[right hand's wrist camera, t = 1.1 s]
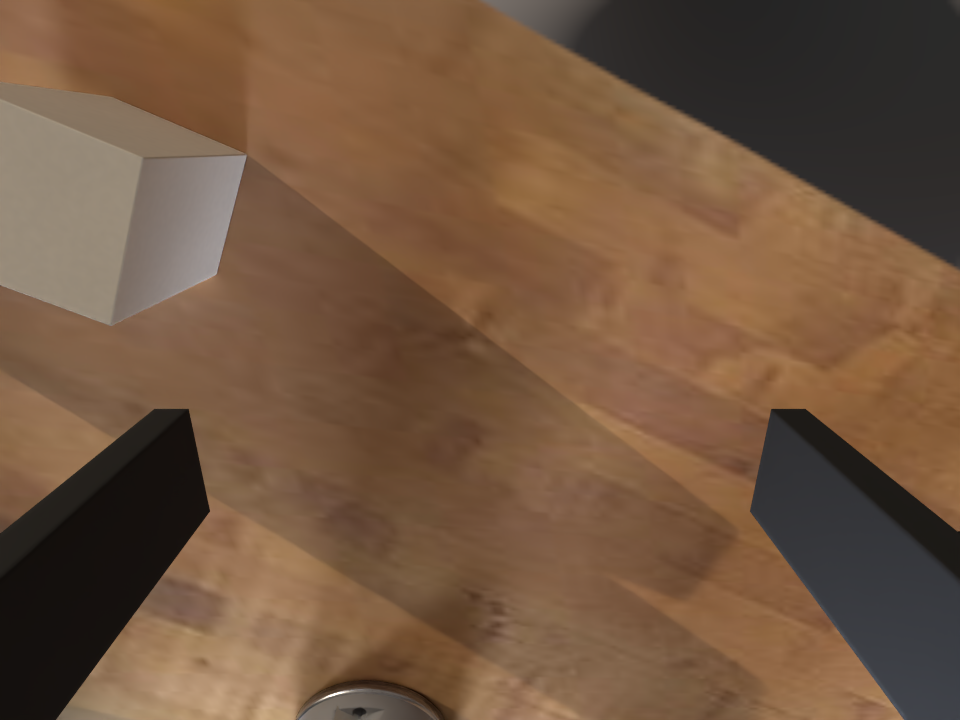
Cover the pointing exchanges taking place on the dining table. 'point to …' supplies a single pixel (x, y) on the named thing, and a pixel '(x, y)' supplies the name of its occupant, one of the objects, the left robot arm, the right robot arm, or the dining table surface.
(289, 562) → the dining table surface
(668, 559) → the dining table surface
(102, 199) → the brick
